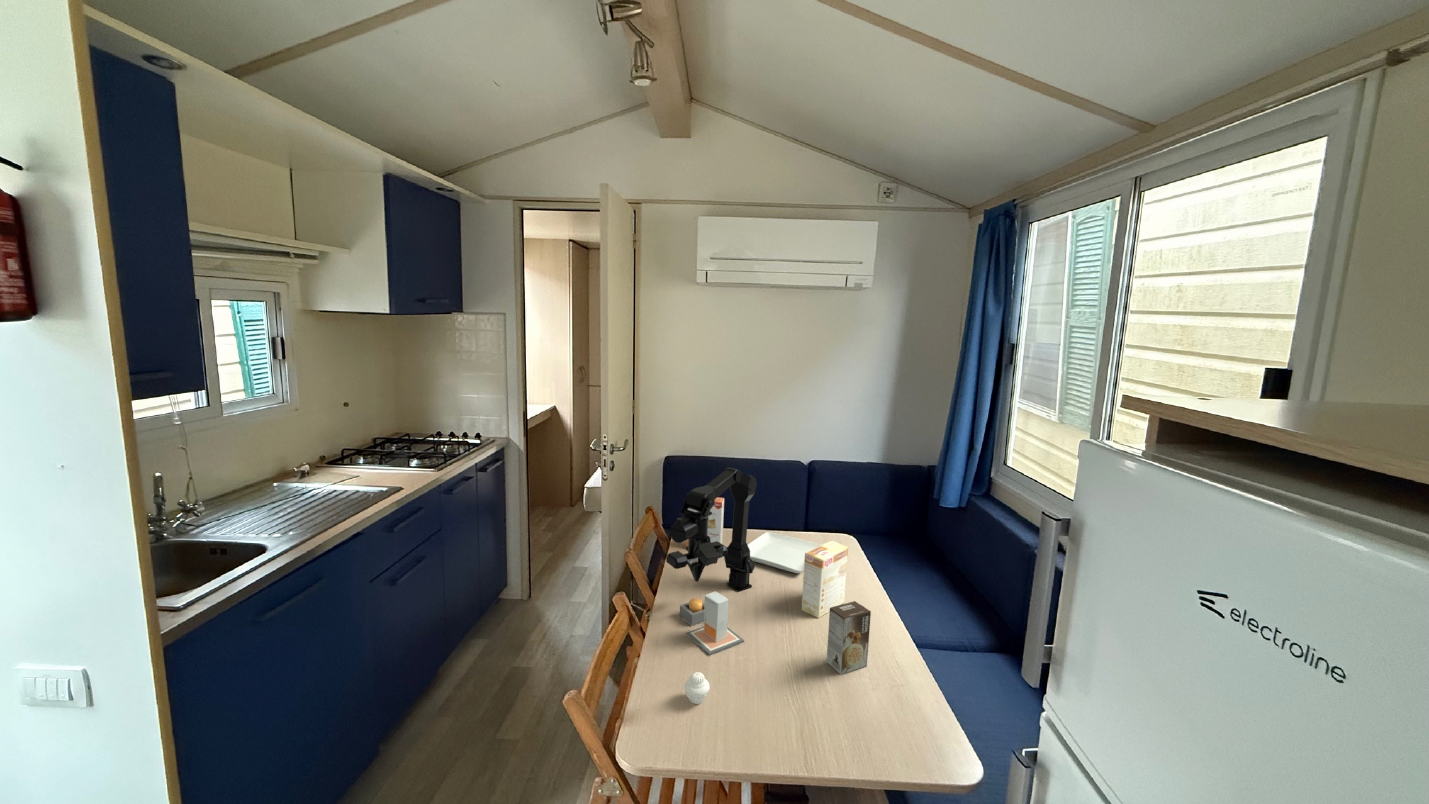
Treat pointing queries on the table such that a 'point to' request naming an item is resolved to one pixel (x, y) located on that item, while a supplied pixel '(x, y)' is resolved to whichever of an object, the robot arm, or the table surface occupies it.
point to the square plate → (780, 551)
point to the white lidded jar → (696, 688)
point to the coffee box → (848, 637)
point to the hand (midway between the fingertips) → (696, 581)
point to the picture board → (710, 644)
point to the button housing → (692, 614)
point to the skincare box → (715, 616)
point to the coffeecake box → (824, 578)
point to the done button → (695, 605)
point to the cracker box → (715, 521)
